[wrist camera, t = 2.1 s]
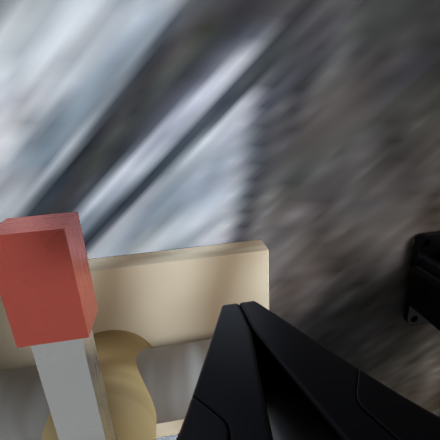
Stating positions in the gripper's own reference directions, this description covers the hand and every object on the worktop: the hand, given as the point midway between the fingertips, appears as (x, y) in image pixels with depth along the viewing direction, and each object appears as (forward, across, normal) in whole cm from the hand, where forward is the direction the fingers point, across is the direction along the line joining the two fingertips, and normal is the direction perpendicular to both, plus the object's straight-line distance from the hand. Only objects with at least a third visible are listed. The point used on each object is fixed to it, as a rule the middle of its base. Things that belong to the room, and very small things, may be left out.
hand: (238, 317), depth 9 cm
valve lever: (+4, +6, +4) cm, 8 cm away
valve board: (+10, +6, +8) cm, 14 cm away
